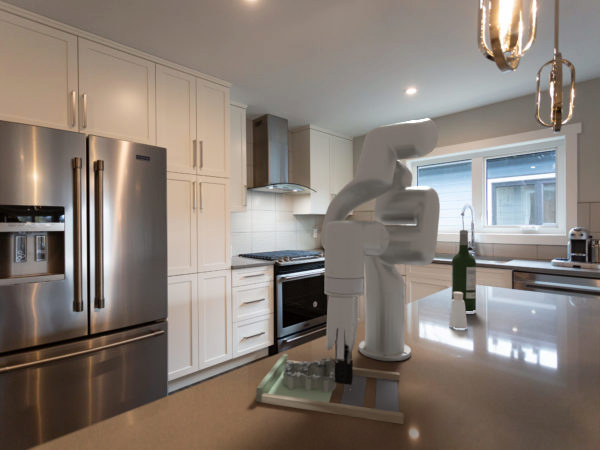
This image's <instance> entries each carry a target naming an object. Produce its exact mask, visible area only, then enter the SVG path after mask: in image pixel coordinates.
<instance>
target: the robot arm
mask: <svg viewBox="0 0 600 450" xmlns="http://www.w3.org/2000/svg"><path fill="white" fill-rule="evenodd" d="M438 140H439V130H438V127H437V125H436V122H434V121H433V120H432V119H431V118H423V119H418V120H409V121H403V122H397V123H391V124H387V125H380V126H377V127H374V128H371V129H370V130H369V131H368V133H367V134H366V135H365V138H364V141H363V145H362V148H361V152H360V157H359V160H358V164H357V168H356V172H355V176H354V177H353V179H351V181H349V182H348V183H347V184H346V185H345V186H344V187H343V188H341V190H339V191H338V193H337V194H336V195H335V196H334V197H333V198H332V200H331V202H330V203H329V204H328V207H327V209H326V213H325V216H324V220H323V223H322V227H321V234H320V241H321V245H322V247H323V249H324V294H325V295H327V296H328V302H327V314H326V332H325V333H326V335H325V339H326V340H325V348H326V350H327V351H331V350H332V349H333V347H334V351H335V355H334V356H335V357H334V359H335V384H340V385H341V384H342V385H345V384H347V385H351V384H352V380H353V367H354V366H353V365H354V362H353V361H354V360H353V350H354V348H355V347H354V346H355V345H356V339H357V333H358V320H359V319H358V318H359V317H358V316H359V311H358V310H359V297H362V296H364V295H365V296H364V298H365V306H364V307H365V308H364V310H365V311H364V313H365V319H364V324H365V326H364V330H365V331H364V335H365V336H364V337H365V338H364V340H362V341H360V342H359V344H358V350H359V352H360V353H361V354H362V355H364V356H365V357H367V358H369V359H373V360H378V361H382V362H400V361H404V360H407V359H409V358H410V357H411V356H412V349H411V347H410V346H408V344H406V343H405V324H406V323H405V318H406V317H405V315H406V314H405V312H406V311H405V310H406V309H405V307H406V306H405V304H406V303H405V302H406V300H405V299H406V298H405V296H406V295H405V291H406V290H405V289H406V288H405V287H406V286H405V284H406V283H405V280H404V277H403V275H402V273H401V272H400V270H399V269H398V268H397V266H396V265H406V266H420V267H421V266H427V265H430V264H431V263H432V262H433V261H434V259H435V256H436V251H437V244H438V233H439V223H440V222H439V221H440V214H441V213H440V210H441V209H440V207H441V206H440V198H439V194H438V192H437V191H436V190H435V189H434V188H433V187H430V186H412V183H413V174H412V171H411V169H409V168H408V166H407V165H406V164H405V163H404V162H403V161H401V160H411V159H417V158H422V157H425V156H427V155H429V154H431V153H432V152H434V150H435V148H436V146H437V145H438ZM373 200H375V204H374V217H375V219H376V220H368V219H367V220H363V219H362V220H358V219H357V220H355V219H352V220H351V219H348V220H347V217H348V216H349V215H350V214H351V212H354V210H355V209H356V208H358V207H360V206H362V205H363V204H367V203H368V202H370V201H373Z"/></svg>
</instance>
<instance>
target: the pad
mask: <svg viewBox="0 0 600 450" xmlns="http://www.w3.org/2000/svg"><path fill="white" fill-rule="evenodd" d="M283 373H284V371H283ZM283 373H282V374H281V376H280V377H279V379H278V380H277V381H276V383H275V384H274V386H273V387H272V388H271V390H270V391H269V393H268V394H274V395H281V396H288V397H295V398H302V399H309V400H316V401H323V402H330V400H331V397H332V395H333V391H334V390H331V391H329V392H327V393H325V392H323V390H321V389H312V390H311V391H306V390H305V389H304V388H302V387H296V388H294V389H293V390H291V389H288V387H287V386H285V385H283Z"/></svg>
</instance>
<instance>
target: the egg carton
mask: <svg viewBox="0 0 600 450" xmlns="http://www.w3.org/2000/svg"><path fill="white" fill-rule="evenodd" d="M283 371H284V373H283V385H285V386H287V387H288V389H291V390H293V389H294V388H296V387H302V388H304V389H305V390H306V391H311V390H312V389H321V390H323V392H325V393H327V392H329V391H331V390H333V391H334V390H336V382H335V358H332V357H329V358H327V357H326V358H325V357H324V358H321V360H320V361H319V360H313V361H305V360H304V361H301V362H299V363H297V362H296V363H293V362H290V361H288V362H287V363H286V365H285V367H284V368H283Z"/></svg>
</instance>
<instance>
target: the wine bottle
mask: <svg viewBox="0 0 600 450" xmlns="http://www.w3.org/2000/svg"><path fill="white" fill-rule="evenodd" d="M468 234H469V231H468V230H467V229H465V230H461V229H460V230H459V250H458V253H456V254H455V255H454V256H453V257H452V260H451V301H452V300H453V299H454V296H453V295H454V294H453V292H462V293H463V300H464V302H465V310H466V311H473V310H476V309H477V307H476V305H477V302H476V301H477V300H476V299H477V297H476V295H477V261H476V259H475V257H474V256H473V255H472V254H471V253H470V251H469V237H468V236H469V235H468ZM476 311H477V310H476Z"/></svg>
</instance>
